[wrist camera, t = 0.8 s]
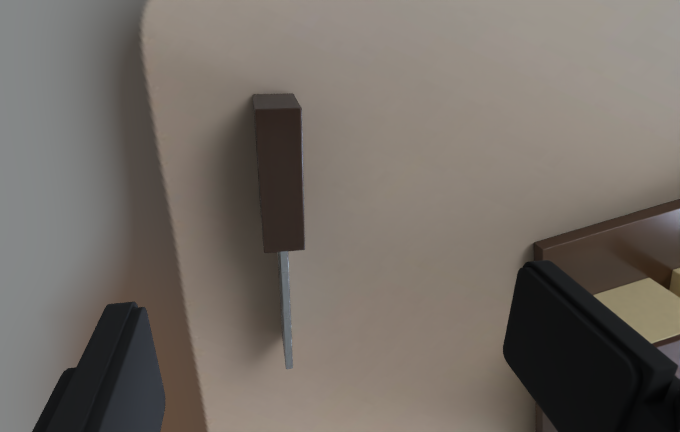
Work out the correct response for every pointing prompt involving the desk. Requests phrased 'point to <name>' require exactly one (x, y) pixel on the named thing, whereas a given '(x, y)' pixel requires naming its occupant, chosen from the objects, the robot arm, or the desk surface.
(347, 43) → the desk surface
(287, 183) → the knife
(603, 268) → the cake board
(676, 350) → the cake
